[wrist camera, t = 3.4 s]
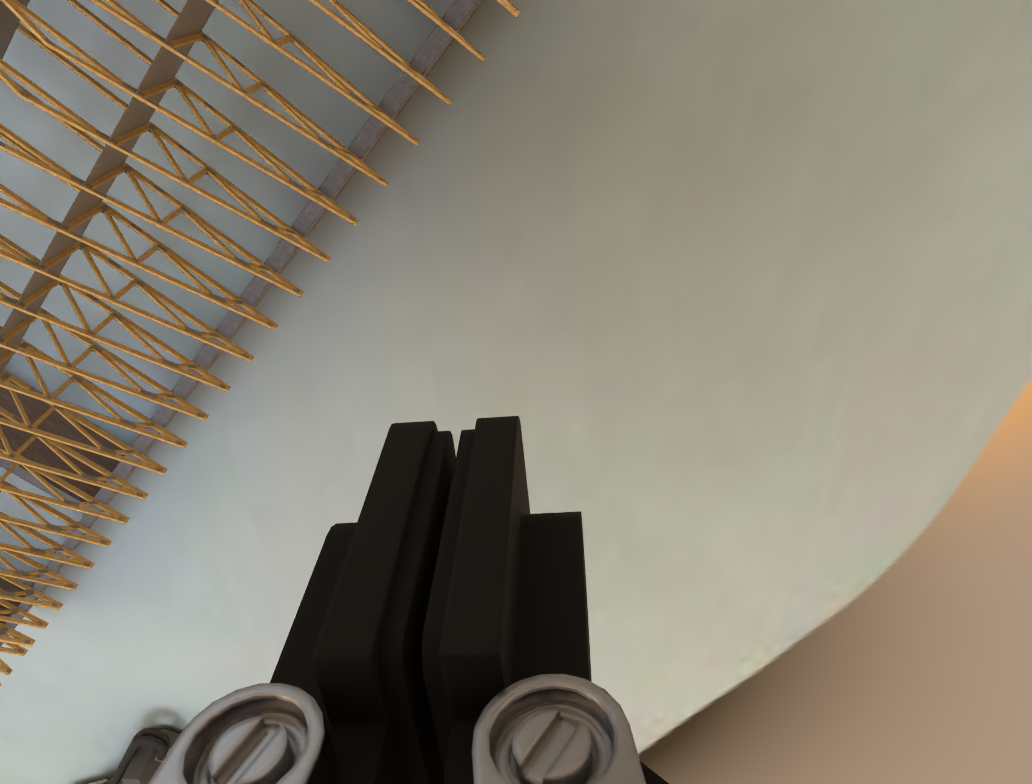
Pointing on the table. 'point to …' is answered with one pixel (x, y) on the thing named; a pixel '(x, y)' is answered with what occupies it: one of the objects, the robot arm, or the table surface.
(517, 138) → the table surface
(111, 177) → the rafter model
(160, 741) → the walkie-talkie
